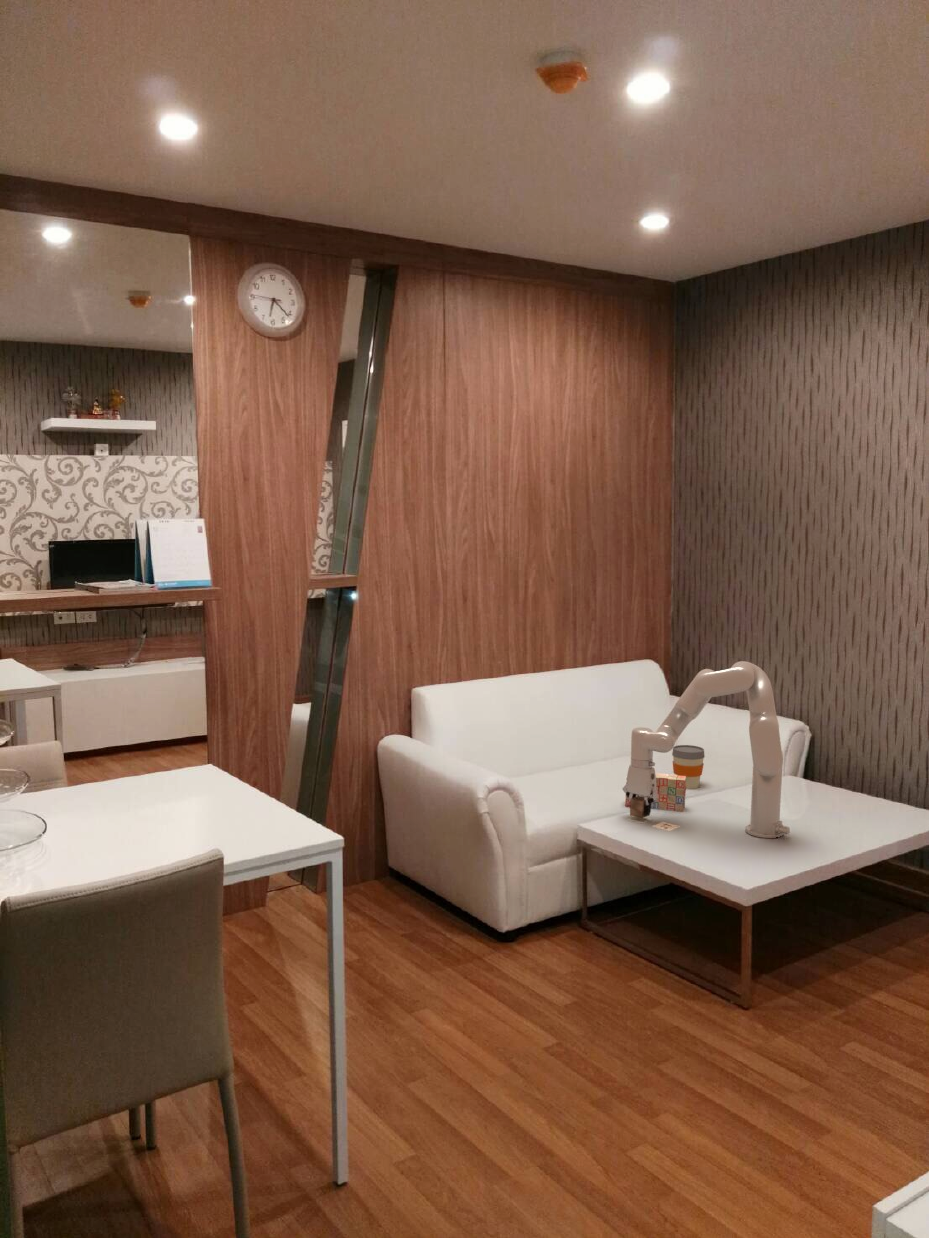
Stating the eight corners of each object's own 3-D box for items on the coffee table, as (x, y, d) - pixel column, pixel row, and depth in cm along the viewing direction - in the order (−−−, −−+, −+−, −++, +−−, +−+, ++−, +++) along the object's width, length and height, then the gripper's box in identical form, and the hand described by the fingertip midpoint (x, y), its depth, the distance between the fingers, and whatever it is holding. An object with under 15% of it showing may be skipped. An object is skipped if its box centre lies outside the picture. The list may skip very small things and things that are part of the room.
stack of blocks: (624, 806, 373) (625, 774, 372) (627, 802, 379) (628, 770, 378) (683, 812, 367) (685, 779, 365) (685, 807, 373) (686, 775, 371)
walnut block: (649, 815, 358) (650, 798, 357) (641, 818, 354) (642, 801, 353) (637, 812, 361) (638, 795, 360) (629, 815, 357) (630, 798, 357)
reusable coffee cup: (685, 791, 393) (687, 754, 391) (664, 783, 404) (665, 746, 402) (710, 787, 399) (711, 750, 397) (688, 779, 410) (690, 743, 408)
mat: (690, 825, 353) (690, 824, 353) (665, 835, 341) (666, 834, 341) (640, 811, 367) (640, 810, 367) (614, 821, 355) (614, 820, 355)
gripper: (668, 765, 352) (666, 816, 354) (627, 756, 364) (626, 805, 366) (656, 769, 347) (654, 820, 349) (615, 760, 358) (613, 810, 361)
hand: (640, 812), depth 357 cm, fingers closed on walnut block, 5 cm apart
